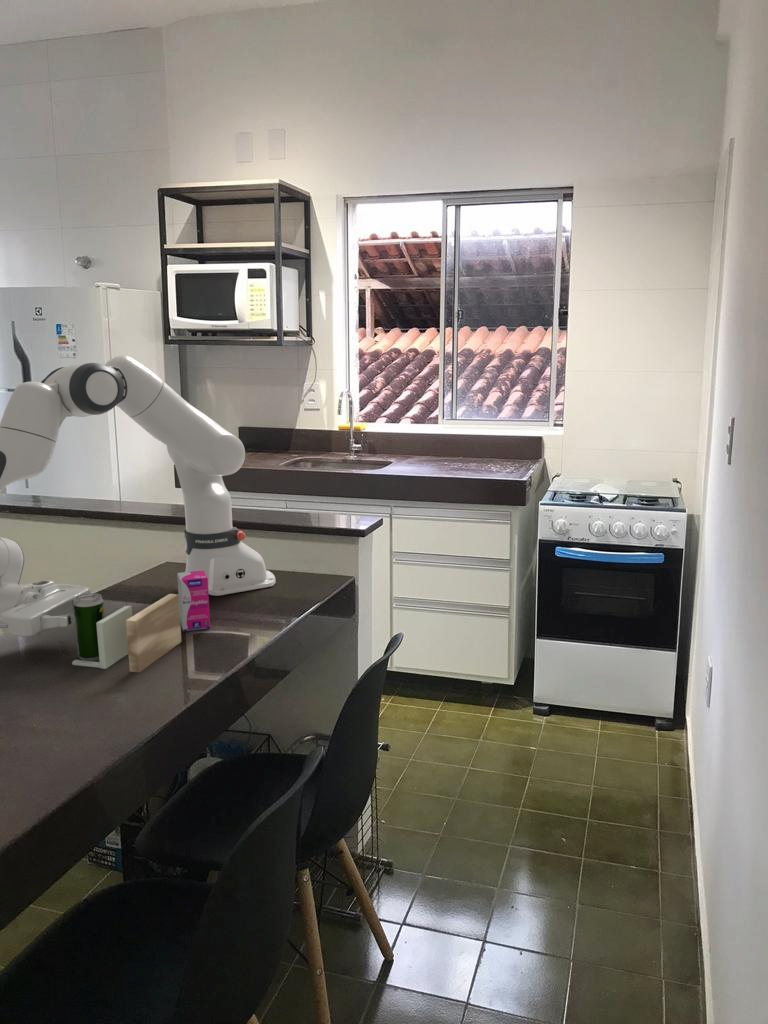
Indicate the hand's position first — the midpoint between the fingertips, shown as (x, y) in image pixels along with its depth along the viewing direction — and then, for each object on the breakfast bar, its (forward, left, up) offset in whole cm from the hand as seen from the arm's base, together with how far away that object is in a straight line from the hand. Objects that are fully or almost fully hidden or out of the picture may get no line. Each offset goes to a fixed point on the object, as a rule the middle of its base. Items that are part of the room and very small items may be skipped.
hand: (83, 613), depth 162 cm
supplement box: (-22, -9, -9) cm, 25 cm away
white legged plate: (-3, +2, -9) cm, 9 cm away
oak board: (-13, +5, -9) cm, 16 cm away
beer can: (-1, +1, -9) cm, 9 cm away
